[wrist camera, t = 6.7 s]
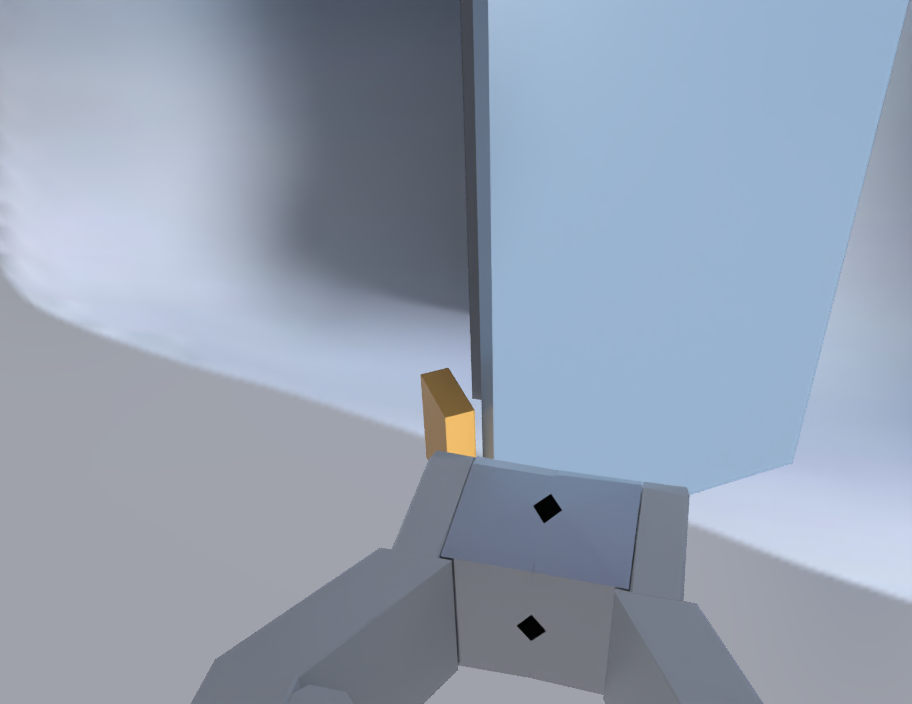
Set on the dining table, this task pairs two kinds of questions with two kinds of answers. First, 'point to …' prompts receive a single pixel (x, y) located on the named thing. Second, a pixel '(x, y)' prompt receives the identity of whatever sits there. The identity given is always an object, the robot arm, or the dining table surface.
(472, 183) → the grey rectangular open box
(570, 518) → the robot arm
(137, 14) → the dining table surface
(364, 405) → the dining table surface
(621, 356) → the cover
